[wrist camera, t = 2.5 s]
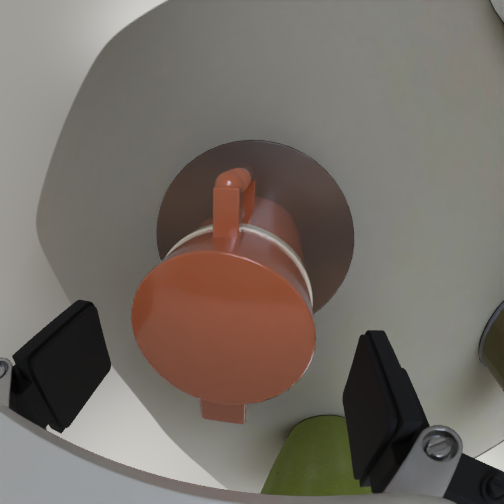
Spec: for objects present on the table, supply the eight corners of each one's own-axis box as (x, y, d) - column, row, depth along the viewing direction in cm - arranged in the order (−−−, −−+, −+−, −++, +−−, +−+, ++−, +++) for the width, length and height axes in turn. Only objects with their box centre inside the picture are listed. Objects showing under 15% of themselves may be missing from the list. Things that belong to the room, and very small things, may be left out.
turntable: (140, 176, 21) (131, 178, 19) (323, 119, 18) (326, 116, 17) (199, 333, 25) (195, 343, 23) (362, 299, 22) (366, 308, 21)
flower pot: (295, 471, 32) (289, 568, 17) (230, 420, 28) (200, 547, 13) (397, 435, 28) (421, 540, 13) (357, 370, 24) (388, 526, 9)
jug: (203, 161, 18) (111, 177, 8) (308, 165, 18) (341, 182, 8) (205, 304, 22) (151, 413, 12) (295, 312, 21) (298, 433, 11)
